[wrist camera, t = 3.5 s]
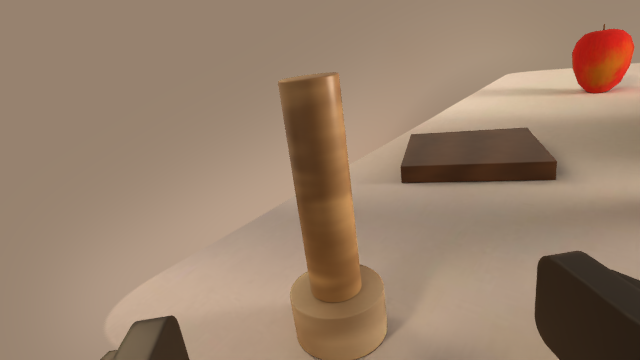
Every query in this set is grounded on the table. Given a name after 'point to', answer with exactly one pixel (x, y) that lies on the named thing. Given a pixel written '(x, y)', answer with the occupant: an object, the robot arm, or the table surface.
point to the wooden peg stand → (328, 228)
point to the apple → (602, 59)
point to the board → (477, 157)
